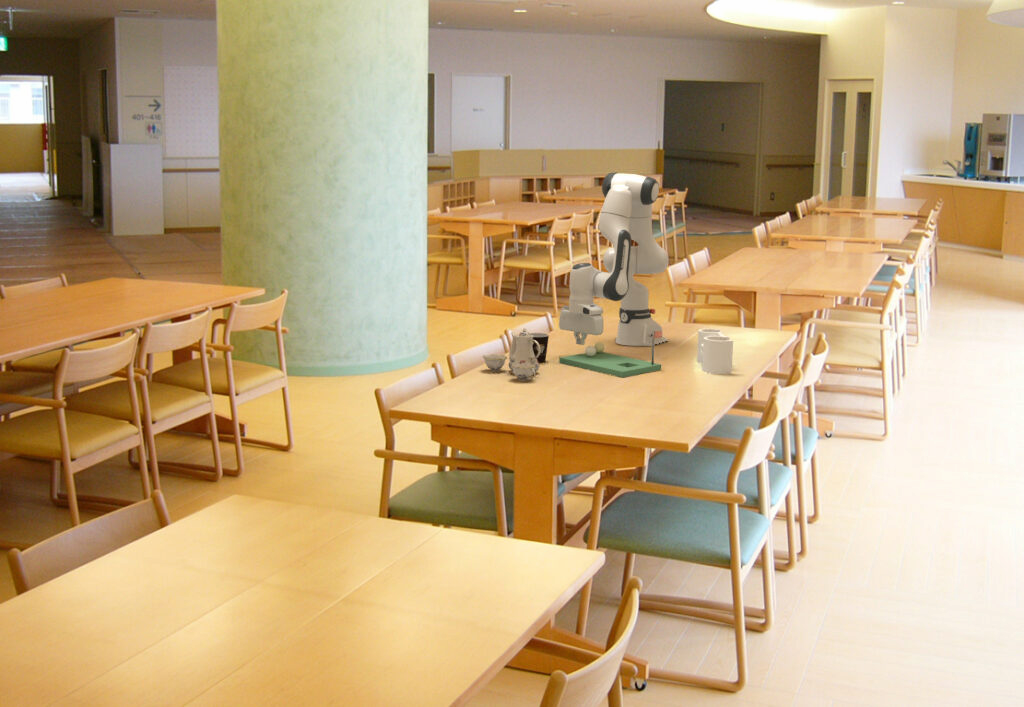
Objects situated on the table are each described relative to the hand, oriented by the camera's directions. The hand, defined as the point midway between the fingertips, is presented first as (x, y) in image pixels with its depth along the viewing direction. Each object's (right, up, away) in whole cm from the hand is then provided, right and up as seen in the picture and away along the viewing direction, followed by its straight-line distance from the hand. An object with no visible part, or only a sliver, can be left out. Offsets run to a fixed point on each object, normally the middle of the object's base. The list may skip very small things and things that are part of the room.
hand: (580, 344), depth 412 cm
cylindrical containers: (+47, -9, -10) cm, 49 cm away
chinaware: (-24, -11, -24) cm, 35 cm away
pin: (+26, -7, -15) cm, 31 cm away
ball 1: (+4, -3, -3) cm, 5 cm away
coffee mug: (-18, -7, -2) cm, 19 cm away
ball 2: (+7, -1, +4) cm, 8 cm away
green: (+10, -8, -10) cm, 16 cm away
